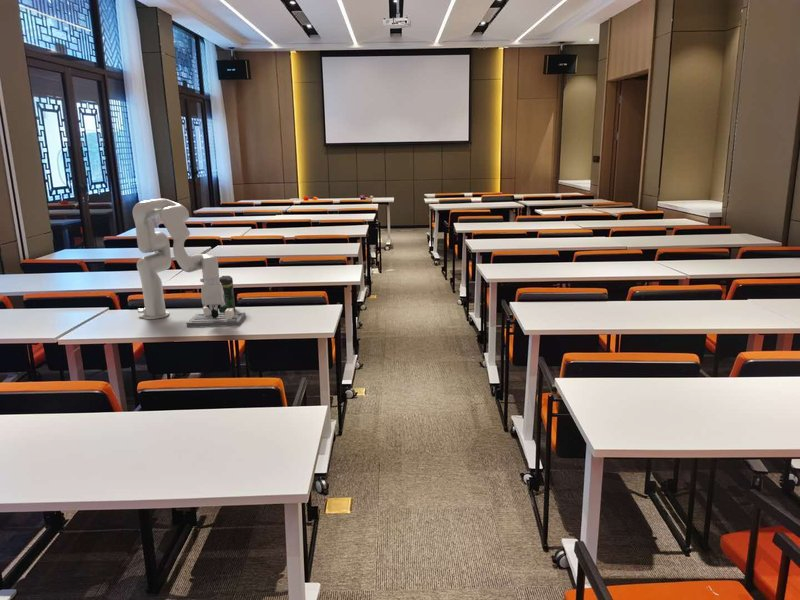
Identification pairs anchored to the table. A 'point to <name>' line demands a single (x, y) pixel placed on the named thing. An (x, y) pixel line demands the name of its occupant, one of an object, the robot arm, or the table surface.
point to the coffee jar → (227, 293)
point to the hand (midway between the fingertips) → (215, 317)
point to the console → (214, 319)
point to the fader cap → (229, 313)
